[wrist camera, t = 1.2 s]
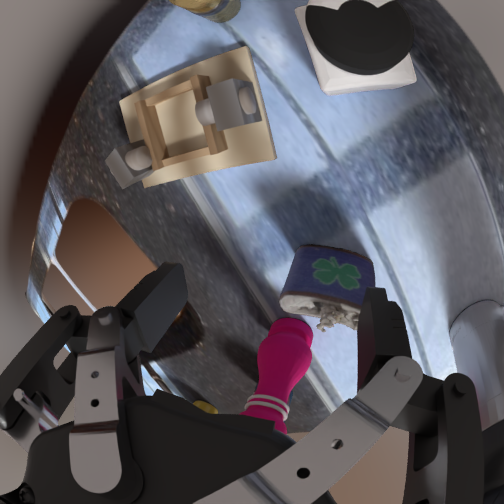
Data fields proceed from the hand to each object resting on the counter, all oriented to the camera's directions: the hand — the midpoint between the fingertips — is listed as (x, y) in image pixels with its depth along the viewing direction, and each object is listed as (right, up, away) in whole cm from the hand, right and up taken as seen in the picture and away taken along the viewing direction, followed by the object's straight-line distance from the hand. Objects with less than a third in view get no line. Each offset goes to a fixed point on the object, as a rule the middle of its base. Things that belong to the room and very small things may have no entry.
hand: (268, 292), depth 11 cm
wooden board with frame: (-7, +16, +15) cm, 23 cm away
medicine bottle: (+9, +19, +7) cm, 22 cm away
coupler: (-4, +27, +7) cm, 28 cm away
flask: (+9, +1, +18) cm, 20 cm away
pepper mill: (+5, -10, +26) cm, 29 cm away
